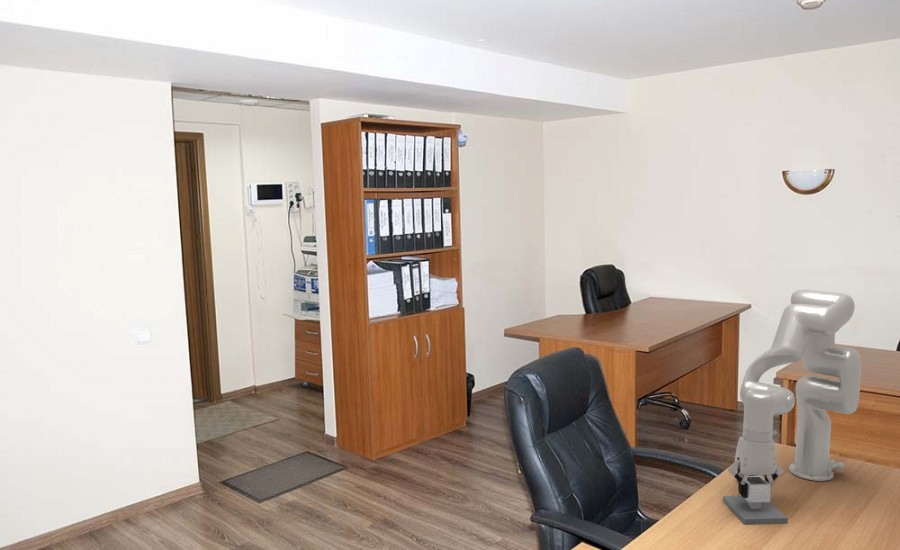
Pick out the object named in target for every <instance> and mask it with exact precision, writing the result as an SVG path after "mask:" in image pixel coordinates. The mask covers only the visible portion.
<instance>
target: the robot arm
mask: <svg viewBox="0 0 900 550" xmlns="http://www.w3.org/2000/svg"><path fill="white" fill-rule="evenodd" d="M854 301H855V300H854V299H853V298H852V297H851V296H850V295H848V294H846V293H839V292H831V291H830V292H829V291H821V290H813V289H799V290H796V291H794V292H792V294H791V296H790V304H788V305H786V307H784V309H783V312H782V315H781V317H780V320H779V322H778V326H777V329H776V332H775V334H774V335H775V336H774V339H773V342H772V344H771V347H770V349H768V350H767V351H765V352H763V353H761V355H759V356H757V358H755V360H753V361H752V362H751V363H750V365H749V366H748V367H747V369H746V371H745V374H744V377H743V380H742V384H741V386H740V391H739V398H740V401H741V402H742V404H743V405H744V407H743V422H742V423H743V427H742V436H740V437H739V438H738V442H737V446H736V449H735V451H736V452H735V457H734V462H733V464H732V465H731V466H730V467H728V469H727V471H728V473H729V474H730V475H732V476H733V477H734V479H736V480H737V481H738V486H737V487H738V488H737V491H738V494H739V496H742V497H743V498H746V493H747V485H746V484H745V483H746V481H747V478H748V476H749V475H757V476H763V478H764V479H765V480H766V481H767V482H768V483H769V484H771V485H773V484H774V483H775V482H774V481H776V480H777V478H779V476H780V475H782V473H783V472H784V469H783V467H781V466H780V465H779V464H778V463H777V451H776V449H777V448H776V445H775V440H774V436H777V434H778V432H777V430H775V429H774V417H775V416H780V415H786V414H787V413H790V411H792V410H793V409H794V406H795V404H796V406H797V422H796V439H795V453H794V454H795V455H794V457H795V460H794V462H792V463H791V464H789V466H788V467H789V472H790V473H791V474H792V475H794V476H796V477H799V478H801V479H805V480H807V481H808V480H809V481H815V482H826V481H831V480H832V479H833V478H834V477H835V473H834V471H833V470H835V469H836V470H837V469H838V470H839V469H844V468H845V464H844V462H842V461H839V462H838V461H837V462H836V460H835V459H830V450H831V448H830V447H831V433H832V420H831V417H830V415H829V413H828V411H830V412H834V413H840V414H844V415H845V414H846V415H850V414H853V413H855V412H856V411H857V408H858V407H859V402H860V393H861V392H860V391H861V377H862V359H861V355H860V353H859V352H858V351H857V350H856V349H854V348H851V347H847V346H842V345H841V346H840V345H837V344H836V341H835V339H836V338H835V337H836V333H837V332H838V331H840V330H841V328H843V327H844V326H845V325H846V324H847V323H848V322H849V321H850V320H851V319H852V317H853V315H854V312H855V302H854ZM800 360H802V363H803V364H802V365H803V367H804V369H805V370H806V371H808V372H811V373H814V374H820V375H822V376H823V375H824V376H830V377H833V378H834V377H835V378H838V379H839V380H836V379H830V378H827V377H821V376H817V375H805V376H801V377H800V378H799V379H798V380H797V382H796V384H795V389H794V390H795V391H794V392H795V394H794V393H793V392H792V390H790V389H788V388H785V387H781V386H777V385H773V384H769V383H764V382H760V379H761V377H762V376H763V375H764V374H765V373H767V372H768V371H770V370H771V369H773V368H776V367H779V366H784V365H788V364H792V363H796V362H799V361H800ZM737 469H738V470H740V472H739V475H738V474H737Z"/></svg>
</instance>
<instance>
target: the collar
mask: <svg viewBox="0 0 900 550" xmlns="http://www.w3.org/2000/svg"><path fill="white" fill-rule="evenodd" d="M745 484H746V485H747V493H746V498H745V499H746V500H747V501H748V502H771V493H772V484H769V483H768V482H767V481H766V480H765V478H764V476H763V477H762V475H757V476H748V478H747V481H746V483H745Z"/></svg>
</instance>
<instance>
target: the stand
mask: <svg viewBox="0 0 900 550" xmlns="http://www.w3.org/2000/svg"><path fill="white" fill-rule="evenodd" d="M722 503H724V504H725V505H726V506H727V508H728V509H729V510H730V511H731V510H732V511H731V512H732V513H733V514H734V515H735V516H736V517H737V519H739V520H740V521H741V523H742V524H743V525H764V524H765V525H770V524H771V525H773V524H774V525H777V524H788V523H789V521H788V520H789V519H788V517H787V516H786V515H785V514H784V513H783V512H782V510H780V509H779V508H778V507H777V506H775V505H774V504H773V503H772V501H770V502H748V501H747V500H746V499H745V498H743V497H742V496H741V495H722Z"/></svg>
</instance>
